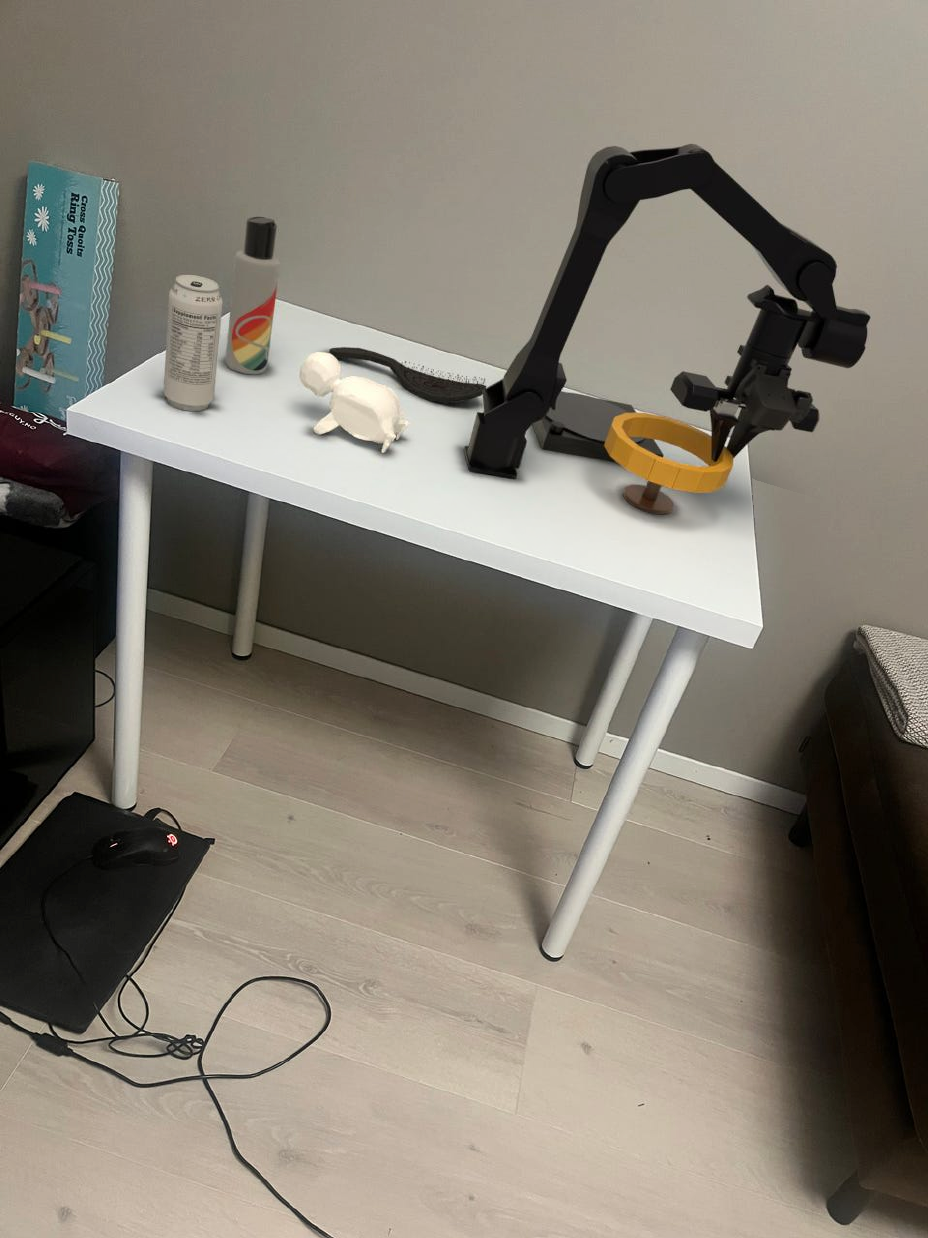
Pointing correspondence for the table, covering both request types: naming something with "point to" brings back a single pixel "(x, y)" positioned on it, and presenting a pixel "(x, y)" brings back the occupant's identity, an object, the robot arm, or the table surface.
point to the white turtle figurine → (353, 401)
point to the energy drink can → (192, 342)
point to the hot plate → (584, 426)
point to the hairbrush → (417, 377)
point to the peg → (648, 498)
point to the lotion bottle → (253, 299)
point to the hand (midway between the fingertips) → (719, 461)
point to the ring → (663, 468)
